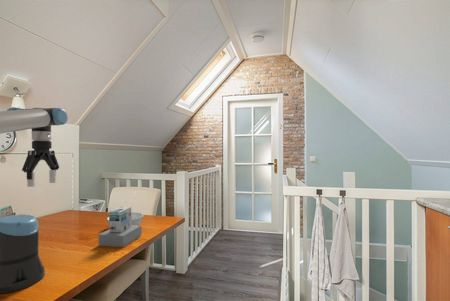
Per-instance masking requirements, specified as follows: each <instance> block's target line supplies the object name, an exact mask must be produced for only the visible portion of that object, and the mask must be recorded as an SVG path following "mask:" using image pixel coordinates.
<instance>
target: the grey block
mask: <svg viewBox="0 0 450 301" xmlns="http://www.w3.org/2000/svg"><path fill="white" fill-rule="evenodd" d="M141 236H142V225H141V224H139V225H132V226H131V227H130V228H128V229H126V230H124V231H123V232H121V233H119V232H110V230H109V229H107V230H105V231H103V232H101V233H98V246H99V247H100V246H101V247H103V246H104V247H117V248H118V247H119V248H124V247H127V246H128V245H129V244H131V243H133V242H134V241H136V240H137V239H139V238H140V237H141Z"/></svg>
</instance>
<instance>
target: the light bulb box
mask: <svg viewBox="0 0 450 301" xmlns="http://www.w3.org/2000/svg"><path fill="white" fill-rule="evenodd" d="M131 212H132V207H131V206H120V207H117V208H115V209H112V210H109V211H108V215H109V216H108V217H109V224H108V227H109V228H108V230H110V232H119V233H121V232H123V231H124V230H126V229H128V228H130V227H131V226H132V225H131Z"/></svg>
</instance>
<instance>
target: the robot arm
mask: <svg viewBox="0 0 450 301" xmlns="http://www.w3.org/2000/svg"><path fill="white" fill-rule="evenodd" d="M67 122H68V114H67V112H66V110H65V109H64V108H61V107H48V108H47V107H45V108H43V107H32V108H21V107H14V106H13V107H8V108H7V109H6V110H0V134H1V135H2V134H7V133H8V134H9V133H12V132H13V133H14V132H18V131H19V132H20V131H25V130H31V140H32V141H31V148H32V149H33V150H28V151H27V156H26V158H25V161H24V164H23V166H22V168H21V171H22V172H23V173H26V183H27V185H26V186H27V188H30V187H32V188H33V187H35V186H36V180H35V179H36V177H35V174H36V172H35V171H34V170H35V169H36V167H37V166H38V164H39V162H40V161H45V163H46V165H47V166H48V167H49V171H48V172H49V174H48V175H49V183H50V184H55V183H57V170H59V169H60V166H59V162H58V159H57V157H56V154H55V151H54V150H51V149H52V148H53V147H52V126H58V127H59V126H63V125H66V124H67ZM39 228H40V227H39V221H38V219H37V217H36V216H34V215H31V214H10V215H5V216H1V217H0V294H1V295H2V294H7V293H12V292H16V291H19V290H22V289H26V288H28V287H30V286H33V285H34V284H36V283H39V282H40V281H41V280H43V278H44V277H45V274H46V270H45V267H44V264H43V263H42V260H41V258H40V255H39Z"/></svg>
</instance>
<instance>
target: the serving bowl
mask: <svg viewBox="0 0 450 301" xmlns="http://www.w3.org/2000/svg"><path fill="white" fill-rule="evenodd" d="M143 218H144V214H143V213H142V212H135V211H131V225H141V223H142V222H143ZM106 221H107V224H108V225H109V216H108V217H107V218H106Z"/></svg>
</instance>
